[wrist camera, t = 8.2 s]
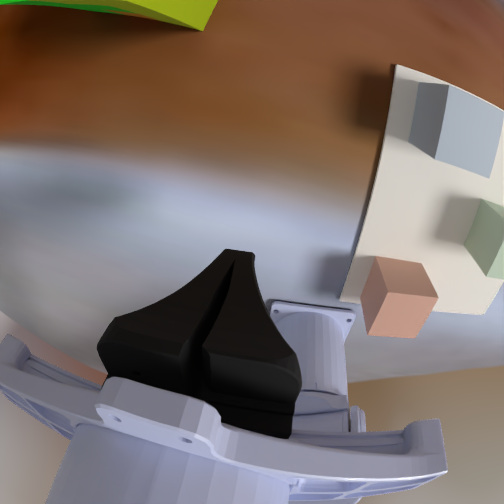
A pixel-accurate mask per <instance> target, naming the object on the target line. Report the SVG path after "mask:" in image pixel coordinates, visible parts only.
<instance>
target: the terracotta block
mask: <svg viewBox="0 0 504 504" xmlns="http://www.w3.org/2000/svg"><path fill="white" fill-rule="evenodd" d="M438 298H439V297H438V295H437V293H436V291H435V289H434V287H433V285H432V283H431V281H430V279H429V277H428V275H427V273H426V271H425V269H424V267H423V265H422V263H418V262H411V261H405V260H399V259H392V258H386V257H380V256H375V259H374V262H373V265H372V267H371V270H370V273H369V275H368V278H367V281H366V283H365V286H364V289H363V291H362V294H361V296H360V300H361V304H362V309H363V315H364V320H365V325H366V331H367V335H373V336H386V337H402V338H415V337H416V336H417V334H418V332H419V331H420V329H421V328H422V326H423V324H424V323H425V321H426V319H427V318H428V316H429V314H430V313H431V311H432V309H433V307H434V306H435V304H436V302H437V300H438Z"/></svg>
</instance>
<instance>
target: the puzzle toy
mask: <svg viewBox="0 0 504 504" xmlns="http://www.w3.org/2000/svg"><path fill="white" fill-rule="evenodd" d="M217 1H218V0H0V5H3V4H25V5H46V6H57V7H67V8H75V9H82V10H88V11H94V12H106V13H115V14H122V15H130V16H136V17H142V18H148V19H153V20H158V21H163V22H168V23H172V24H176V25H181V26H185V27H189V28H192V29H196V30H200V31H203V29H204V27H205V25H206V23H207V21H208V19H209V17H210V15H211V13H212V11H213V9H214V7H215V5H216V3H217Z"/></svg>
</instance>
